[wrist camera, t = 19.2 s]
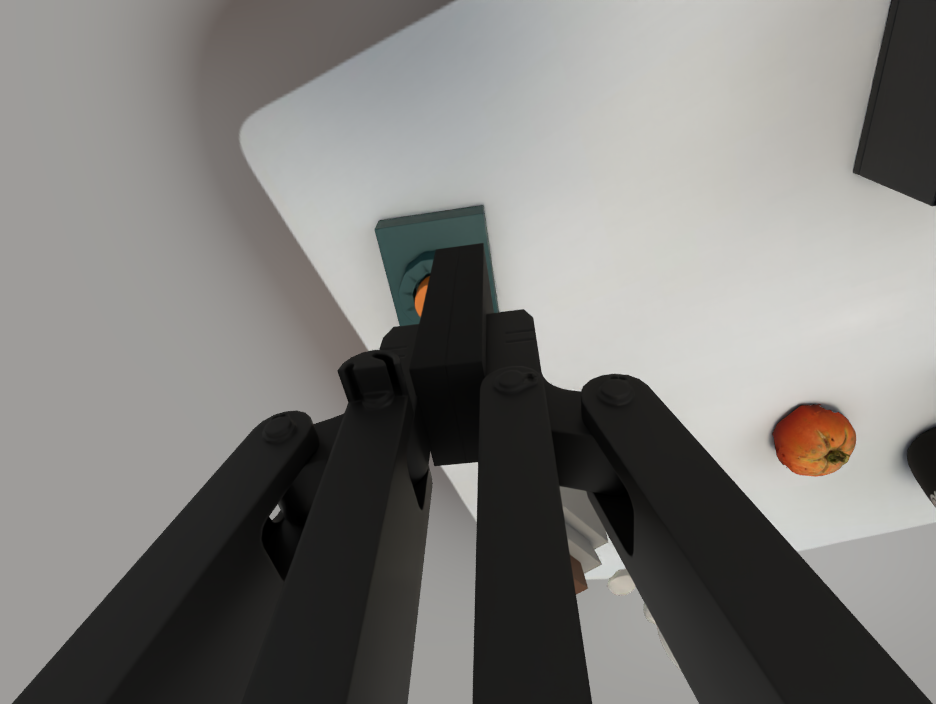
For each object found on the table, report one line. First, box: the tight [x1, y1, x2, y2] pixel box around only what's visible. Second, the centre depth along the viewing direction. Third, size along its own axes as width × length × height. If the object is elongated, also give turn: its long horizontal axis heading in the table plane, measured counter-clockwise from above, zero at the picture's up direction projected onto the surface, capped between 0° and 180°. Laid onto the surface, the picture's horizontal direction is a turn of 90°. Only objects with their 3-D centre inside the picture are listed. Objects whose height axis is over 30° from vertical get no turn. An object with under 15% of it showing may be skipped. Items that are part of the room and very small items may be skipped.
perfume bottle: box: [560, 486, 608, 594], centre depth 50 cm, size 7×7×18 cm
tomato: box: [772, 404, 856, 476], centre depth 55 cm, size 8×7×7 cm
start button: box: [415, 276, 430, 317], centre depth 44 cm, size 4×4×2 cm
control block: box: [375, 205, 499, 326], centre depth 46 cm, size 12×9×4 cm
